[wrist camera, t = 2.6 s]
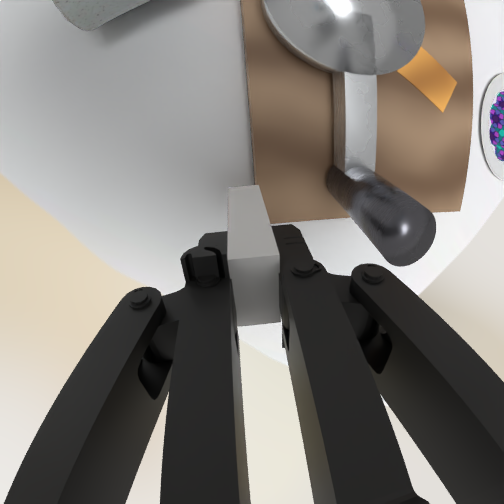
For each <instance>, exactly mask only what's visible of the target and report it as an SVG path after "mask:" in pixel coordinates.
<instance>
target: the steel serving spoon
mask: <svg viewBox="0 0 504 504" xmlns="http://www.w3.org/2000/svg"><path fill="white" fill-rule="evenodd" d="M260 2H261V7H262V11H263V14H264V17H265V20H266V22H267V24H268V26H269V28H270V29H271V31H272V32H273V34H274V35H275V36H276V38H277V39H278V40H279V41H280V42H281V43H282V44H283V45H284V46H285V47H286V48H287V49H288V50H289V51H290V52H291V53H293V54H294V55H295V56H297V57H298V58H299V59H301V60H303V61H304V62H306V63H308V64H310V65H312V66H314V67H316V68H318V69H321V70H323V71H326V72H329V73H332V78H333V104H334V165H333V166H332V167H331V168H330V170H329V172H328V174H327V178H326V185H327V189H328V191H329V193H330V194H331V195H332V197H333V198H334V199H335V200H336V201H337V202H338V203H339V204H340V205H341V207H342V208H343V209H344V210H345V211H346V212H347V213H348V215H349V216H350V217H351V218H352V219H353V220H354V221H355V223H356V224H357V225H358V226H359V227H360V229H361V230H362V231H363V232H364V233H365V234H366V236H367V237H368V238H369V239H370V241H371V242H372V243H373V244H374V245H375V247H376V248H377V249H378V250H379V252H380V253H381V254H382V255H383V257H384V258H385V259H386V260H387V261H388V262H389V263H390V264H392V265H394V266H407V265H410V264H412V263H414V262H416V261H418V260H419V259H420V258H422V257H423V256H424V255H425V254H426V252H427V251H428V250H429V248H430V247H431V245H432V243H433V240H434V238H435V234H436V221H435V218H434V216H433V214H432V213H431V211H430V210H429V209H427V208H426V207H425V206H423V205H422V204H421V203H419V202H418V201H416V200H415V199H414V198H412V197H411V196H410V195H408V194H407V193H405V192H404V191H402V190H401V189H400V188H398V187H397V186H395V185H394V184H392V183H391V182H389V181H388V180H386V179H385V178H383V177H382V176H380V175H379V174H377V173H376V172H375V161H376V140H377V77H376V75H382V74H386V73H391V72H393V71H396V70H398V69H400V68H402V67H403V66H405V65H406V64H408V63H409V62H410V61H411V60H412V59H413V58H414V57H415V55H416V54H417V53H418V51H419V49H420V47H421V45H422V42H423V39H424V34H425V16H424V11H423V7H422V4H421V1H420V0H260Z"/></svg>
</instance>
